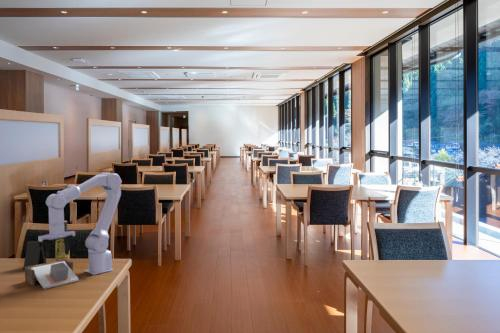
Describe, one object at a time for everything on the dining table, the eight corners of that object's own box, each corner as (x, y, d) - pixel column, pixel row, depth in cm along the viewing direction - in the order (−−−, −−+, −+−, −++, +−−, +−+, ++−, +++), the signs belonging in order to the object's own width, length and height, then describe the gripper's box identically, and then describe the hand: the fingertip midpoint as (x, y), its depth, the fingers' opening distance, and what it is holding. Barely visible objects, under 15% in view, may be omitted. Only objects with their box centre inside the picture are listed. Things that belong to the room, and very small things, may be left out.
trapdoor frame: (65, 272, 201) (65, 259, 200) (73, 276, 196) (72, 262, 195) (25, 281, 189) (24, 267, 188) (32, 285, 184) (31, 270, 183)
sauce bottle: (56, 265, 213) (54, 222, 212) (54, 262, 219) (53, 220, 218) (71, 263, 216) (69, 221, 215) (69, 260, 222) (68, 219, 221)
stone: (61, 272, 190) (63, 262, 188) (66, 279, 186) (68, 268, 185) (49, 275, 186) (51, 264, 184) (54, 282, 183) (56, 271, 181)
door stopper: (35, 270, 206) (34, 243, 205) (23, 269, 206) (22, 243, 206) (46, 264, 215) (45, 239, 214) (34, 264, 215) (33, 239, 215)
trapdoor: (30, 269, 188) (30, 267, 188) (64, 263, 198) (64, 260, 198) (43, 289, 179) (44, 286, 179) (78, 280, 189) (78, 278, 189)
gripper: (42, 227, 180) (44, 261, 181) (78, 221, 191) (79, 254, 192) (35, 224, 185) (36, 258, 186) (70, 220, 196) (71, 251, 197)
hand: (57, 255), depth 189 cm, fingers open, 7 cm apart
